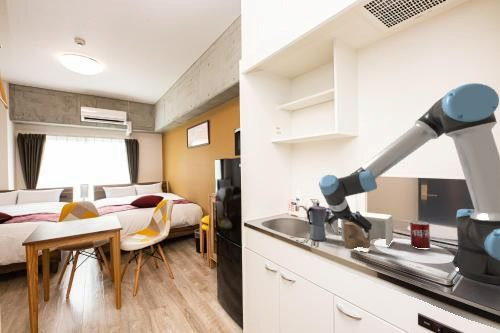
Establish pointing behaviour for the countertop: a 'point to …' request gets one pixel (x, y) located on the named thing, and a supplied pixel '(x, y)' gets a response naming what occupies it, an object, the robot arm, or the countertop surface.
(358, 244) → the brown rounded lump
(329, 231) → the french press
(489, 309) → the countertop surface
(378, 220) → the white box
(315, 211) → the moka pot
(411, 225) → the soda can
